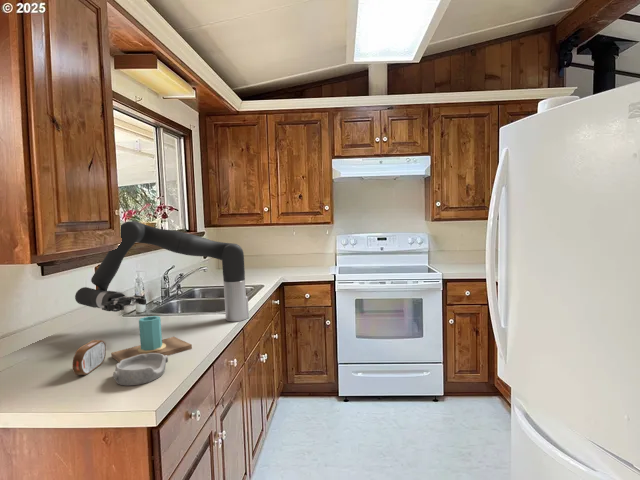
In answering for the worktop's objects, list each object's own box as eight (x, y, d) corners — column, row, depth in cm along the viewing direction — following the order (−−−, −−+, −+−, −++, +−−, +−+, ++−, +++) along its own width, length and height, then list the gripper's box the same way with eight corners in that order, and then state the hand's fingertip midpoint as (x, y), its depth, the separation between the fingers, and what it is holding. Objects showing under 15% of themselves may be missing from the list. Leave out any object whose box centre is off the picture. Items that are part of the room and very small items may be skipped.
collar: (154, 342, 146) (152, 315, 145) (165, 345, 142) (163, 317, 141) (137, 348, 141) (135, 319, 140) (148, 351, 137) (146, 322, 136)
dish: (170, 366, 129) (169, 350, 128) (160, 384, 115) (158, 367, 115) (122, 370, 127) (120, 354, 126) (105, 390, 113) (103, 372, 113)
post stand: (174, 340, 154) (172, 312, 153) (191, 348, 144) (189, 318, 143) (111, 357, 139) (108, 326, 138) (126, 367, 129) (123, 333, 128)
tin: (99, 361, 136) (97, 336, 135) (108, 360, 136) (106, 335, 135) (72, 380, 121) (69, 352, 120) (83, 379, 121) (80, 351, 120)
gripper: (91, 295, 153) (114, 298, 144) (127, 287, 165) (151, 290, 155) (93, 314, 154) (116, 319, 144) (129, 306, 165) (152, 309, 156)
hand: (134, 304), depth 150 cm, fingers open, 8 cm apart
